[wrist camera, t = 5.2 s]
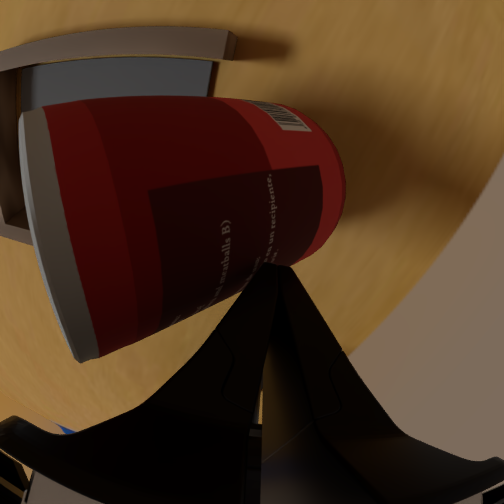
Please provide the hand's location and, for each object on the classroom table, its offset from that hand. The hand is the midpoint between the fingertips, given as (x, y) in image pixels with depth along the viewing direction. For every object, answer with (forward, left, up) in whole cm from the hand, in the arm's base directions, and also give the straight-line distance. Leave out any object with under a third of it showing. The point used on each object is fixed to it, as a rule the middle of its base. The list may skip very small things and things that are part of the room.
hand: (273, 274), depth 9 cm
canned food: (0, 0, -7) cm, 7 cm away
